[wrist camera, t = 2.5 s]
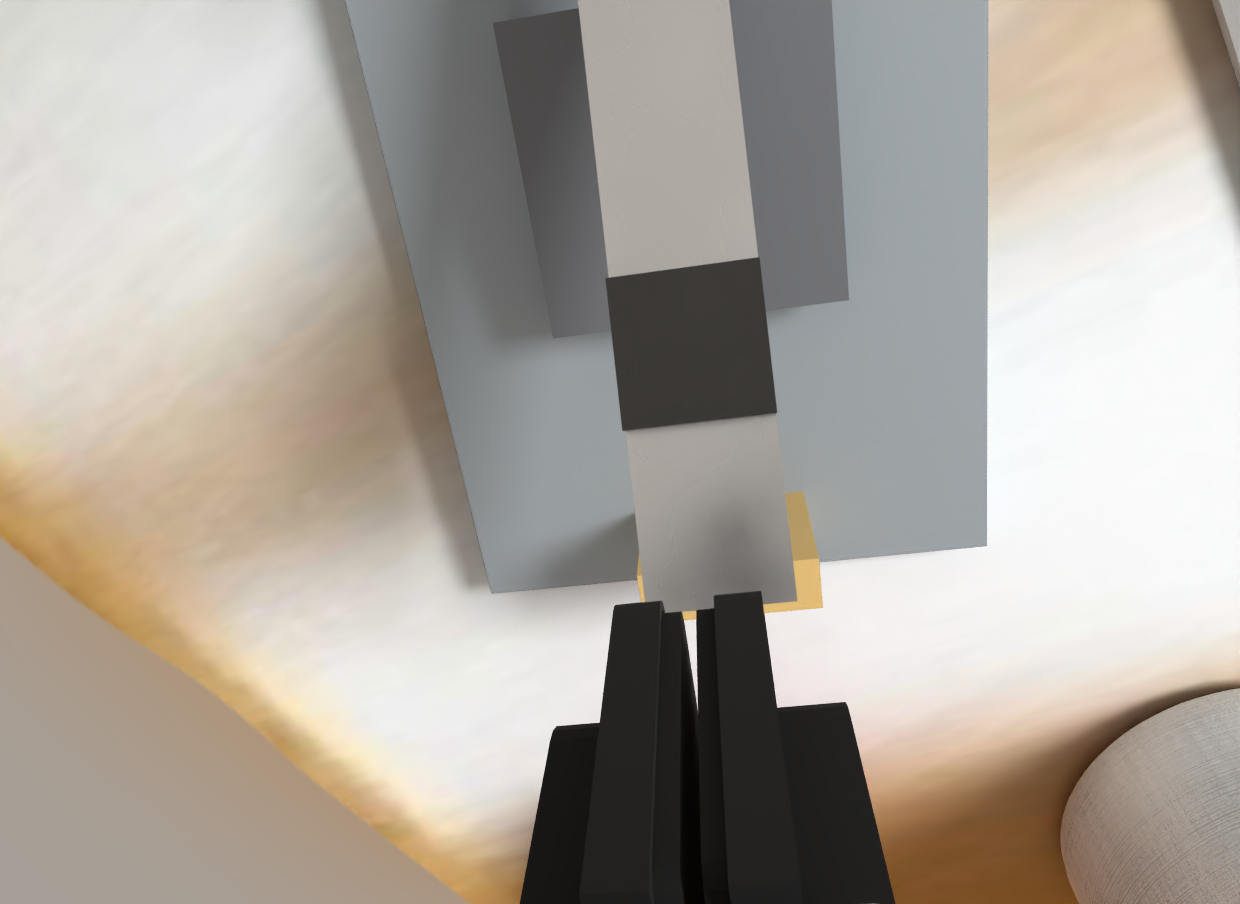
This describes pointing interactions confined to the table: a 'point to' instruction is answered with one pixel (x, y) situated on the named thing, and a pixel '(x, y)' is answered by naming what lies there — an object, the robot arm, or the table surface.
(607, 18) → the clamp bar
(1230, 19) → the gadget
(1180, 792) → the planter
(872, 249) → the clamp base
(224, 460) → the table surface
